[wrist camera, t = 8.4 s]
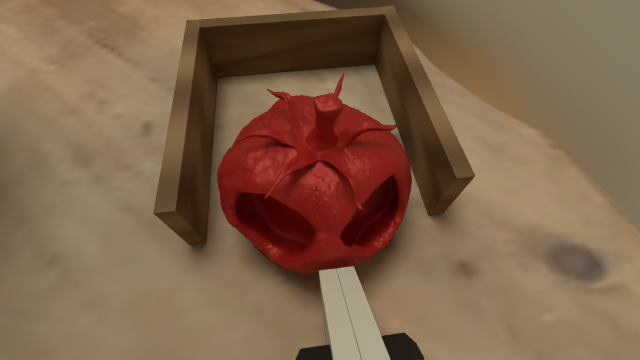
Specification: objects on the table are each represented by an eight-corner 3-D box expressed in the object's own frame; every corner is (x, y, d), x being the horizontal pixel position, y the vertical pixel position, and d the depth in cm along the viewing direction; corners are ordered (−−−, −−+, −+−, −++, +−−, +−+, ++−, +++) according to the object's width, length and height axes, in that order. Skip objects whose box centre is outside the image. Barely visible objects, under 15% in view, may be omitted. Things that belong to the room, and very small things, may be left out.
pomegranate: (246, 152, 22) (203, 30, 14) (382, 146, 22) (414, 22, 14) (232, 294, 16) (149, 226, 9) (411, 283, 17) (490, 208, 9)
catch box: (443, 213, 19) (475, 175, 15) (189, 244, 18) (153, 213, 14) (382, 55, 27) (393, 6, 23) (206, 70, 26) (186, 20, 22)
